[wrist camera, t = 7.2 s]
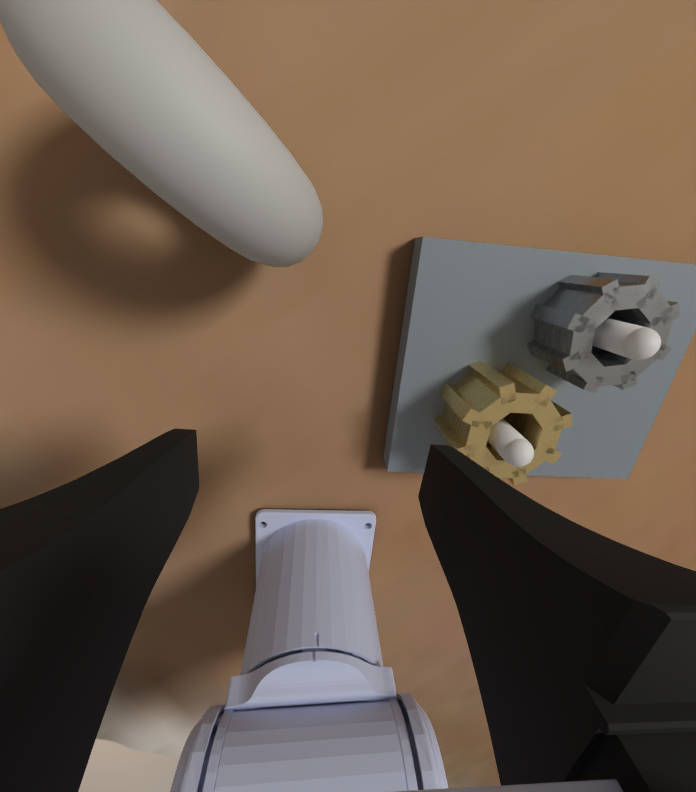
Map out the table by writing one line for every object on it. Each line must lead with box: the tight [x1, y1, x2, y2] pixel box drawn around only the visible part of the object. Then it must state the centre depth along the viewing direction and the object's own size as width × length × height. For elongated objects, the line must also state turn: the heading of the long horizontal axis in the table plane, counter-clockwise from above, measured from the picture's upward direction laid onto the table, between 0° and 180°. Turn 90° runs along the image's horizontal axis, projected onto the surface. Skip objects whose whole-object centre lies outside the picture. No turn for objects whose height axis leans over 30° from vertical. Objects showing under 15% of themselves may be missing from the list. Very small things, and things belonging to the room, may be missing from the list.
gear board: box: [383, 237, 696, 479], centre depth 18 cm, size 13×16×6 cm
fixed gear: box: [527, 272, 680, 393], centre depth 17 cm, size 5×5×3 cm
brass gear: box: [434, 361, 573, 486], centre depth 19 cm, size 6×6×4 cm
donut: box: [0, 0, 323, 267], centre depth 12 cm, size 10×4×10 cm, turn 46°
